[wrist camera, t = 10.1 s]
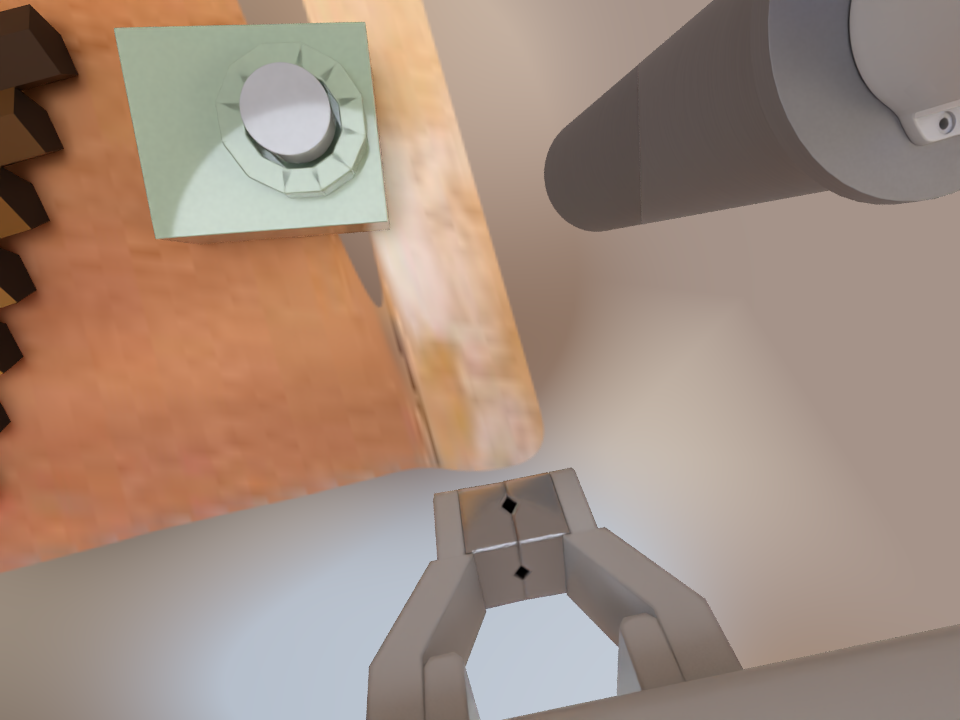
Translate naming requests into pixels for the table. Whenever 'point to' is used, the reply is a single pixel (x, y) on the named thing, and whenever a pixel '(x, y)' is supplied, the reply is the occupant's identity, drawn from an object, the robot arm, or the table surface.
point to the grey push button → (287, 112)
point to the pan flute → (23, 146)
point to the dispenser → (230, 148)
